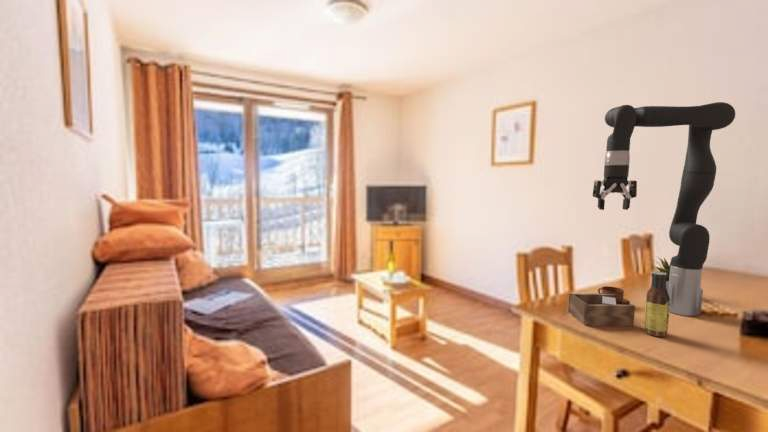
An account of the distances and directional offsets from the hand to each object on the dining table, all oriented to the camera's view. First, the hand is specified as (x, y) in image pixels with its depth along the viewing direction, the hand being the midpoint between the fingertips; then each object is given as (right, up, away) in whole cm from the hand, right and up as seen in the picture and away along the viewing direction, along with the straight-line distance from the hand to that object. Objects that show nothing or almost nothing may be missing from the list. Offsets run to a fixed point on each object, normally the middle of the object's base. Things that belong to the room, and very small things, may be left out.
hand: (613, 209), depth 138 cm
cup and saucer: (+7, -37, +13) cm, 40 cm away
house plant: (+38, -35, +26) cm, 58 cm away
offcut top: (-3, -35, -3) cm, 36 cm away
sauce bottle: (+5, -40, -14) cm, 43 cm away
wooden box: (-6, -39, -2) cm, 39 cm away
